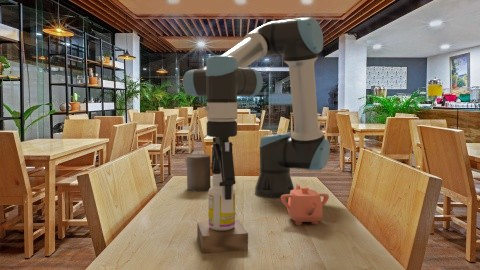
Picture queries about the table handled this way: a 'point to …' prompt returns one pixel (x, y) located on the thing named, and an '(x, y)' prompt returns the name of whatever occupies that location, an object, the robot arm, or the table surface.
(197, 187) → the pillar candle
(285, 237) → the table surface
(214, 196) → the supplement bottle
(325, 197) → the teapot
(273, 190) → the robot arm
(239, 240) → the block
